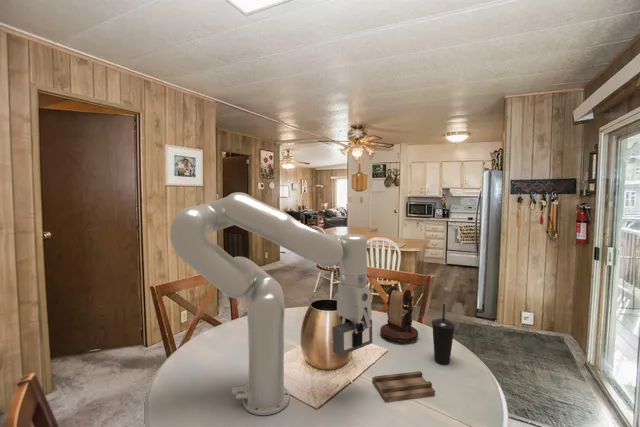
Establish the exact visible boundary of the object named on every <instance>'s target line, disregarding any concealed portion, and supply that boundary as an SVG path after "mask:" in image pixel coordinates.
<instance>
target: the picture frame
mask: <svg viewBox="0 0 640 427" xmlns="http://www.w3.org/2000/svg"><path fill="white" fill-rule="evenodd" d="M370 324H371V327H370V328H366V329H365V330H364V331H363V332H362V345H360V346H357V347H353V346H352V333H354V325H353V321H350V322H347V323H344V324H342V323H341V324H338V325H335V326H332V342H333V343H332V352H334V353H335V354H336V355H337V356H339V357H341V356H343V355H347V354H349V353H351V352H355V350H356V351H357V350H358V349H361V348H364V347H366V346H369V345H372V344H373V319H372V318H371V320H370ZM359 326H360V324H358V327H359Z"/></svg>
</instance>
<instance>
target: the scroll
mask: <svg viewBox="0 0 640 427" xmlns="http://www.w3.org/2000/svg"><path fill="white" fill-rule="evenodd" d="M387 296H388V297H387V302H386V305H387V312H386V313H387V323H385V324H383V325H381V326H380V335H381V336H380V337H384V338H386V339H388V340H391V341H395V342H396V341H397V342H400V343H401V345H404V343H405V342H411V341H416V339H418V338H419V331H418V330H417V328H415V327H414V326H412V323H413V319H412V318H413V315H412V314H413V311H414V308H413V303H412V302H413V298H414V296H413V295H412V292H411V290H410V289H407V288H406V289H405V290H404V291H403V292H402V291H399V290H398V288H397V287H396V285H392V286H391V287H390V288H389V289H388V290H387ZM407 305H408V306H407ZM403 310H405V311H407V312H406V313H404V315H403Z"/></svg>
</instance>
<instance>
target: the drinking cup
mask: <svg viewBox="0 0 640 427" xmlns="http://www.w3.org/2000/svg"><path fill="white" fill-rule="evenodd" d="M445 314H446V304H445V303H443V304H442V317H438V318H433V319H432V320H431V325H432V337H433V339H432V340H433V355H434V362H435V363H437V364H439V365H441V366H442V365H443V366H448V365H450V362H451V355H452V347H453V340H454V333H455V327H456V323H455V322H454V321H453V320H450V319H449V318H446V316H445Z"/></svg>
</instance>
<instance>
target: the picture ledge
mask: <svg viewBox="0 0 640 427" xmlns="http://www.w3.org/2000/svg"><path fill="white" fill-rule="evenodd" d="M371 381H372V384H373V385H374V387H375V389H376V390H377V392H378V394H379V395H380V396H381V398H382V399H383V400H384V403H391V402H398V401H406V400H407V401H408V400H413V399H421V398H430V397H435V396H436V390H435V389H434V388H433V382H431V381H428V380H427V381H426V379H425V378H424V377H423V372H422V371H420V370H418V371H410V372H403V373H402V372H401V373H391V374H383V375H375V376H372V378H371Z"/></svg>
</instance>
